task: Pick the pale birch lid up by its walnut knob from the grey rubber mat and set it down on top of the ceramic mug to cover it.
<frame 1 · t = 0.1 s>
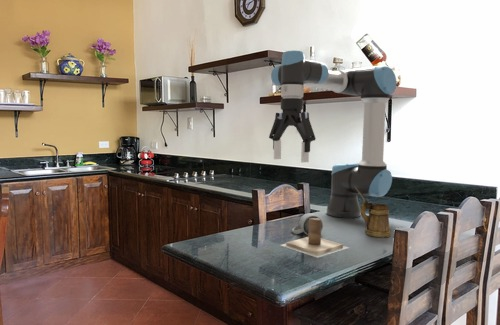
hand: (290, 160, 137), 28 cm above the countertop, tool pointing down, fingers open, 13 cm apart
lid: (314, 246, 131), resting on mat
mat: (314, 247, 132), on the countertop
ceramic mug: (306, 234, 148), on the countertop
wooden mug: (371, 234, 149), on the countertop
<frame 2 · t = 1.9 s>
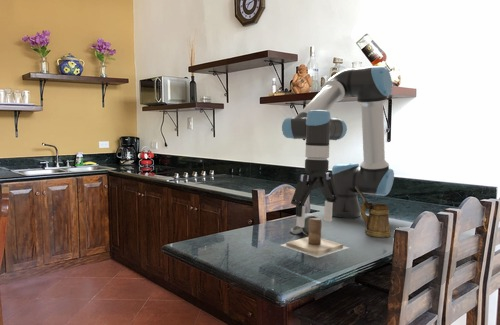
hand: (314, 223, 131), 8 cm above the countertop, tool pointing down, fingers open, 13 cm apart
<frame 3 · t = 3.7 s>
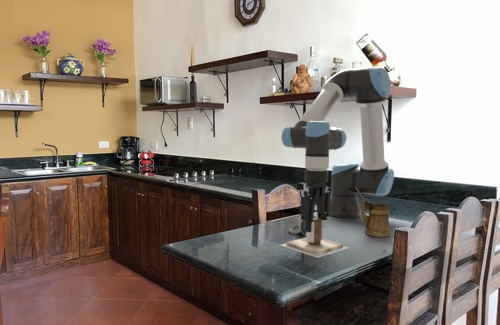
hand: (314, 240, 131), 3 cm above the countertop, tool pointing down, fingers closed on lid, 4 cm apart
lid: (314, 246, 131), point 1 cm above the countertop, touching gripper, mat
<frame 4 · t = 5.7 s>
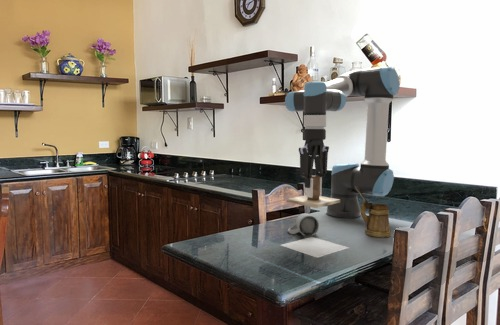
hand: (313, 196, 138), 16 cm above the countertop, tool pointing down, fingers closed on lid, 4 cm apart
lid: (313, 202, 138), point 14 cm above the countertop, touching gripper
when the fingers open (12 cm above the countertop, at t = 7.8 s): lid drops 2 cm, resting on ceramic mug.
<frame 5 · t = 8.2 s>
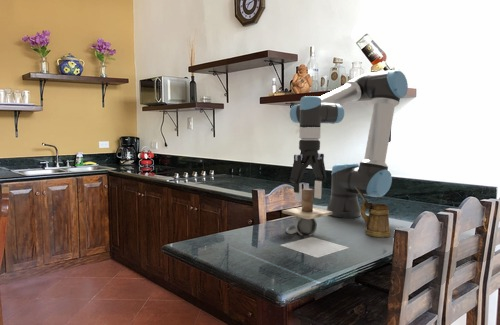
hand: (308, 199, 147), 13 cm above the countertop, tool pointing down, fingers open, 10 cm apart
lid: (307, 213, 148), point 8 cm above the countertop, touching ceramic mug
ceramic mug: (300, 234, 148), on the countertop, touching lid
everything else where it was.
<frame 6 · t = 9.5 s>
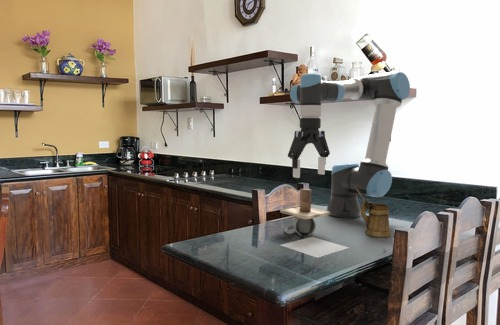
hand: (309, 175, 147), 22 cm above the countertop, tool pointing down, fingers open, 13 cm apart
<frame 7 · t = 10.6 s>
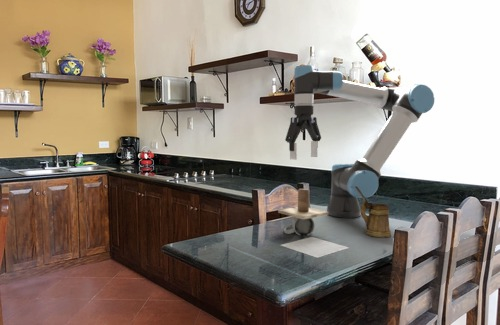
hand: (304, 158, 162), 27 cm above the countertop, tool pointing down, fingers open, 13 cm apart
lid: (303, 213, 148), point 8 cm above the countertop
ceramic mug: (298, 234, 148), on the countertop
everything else where it was.
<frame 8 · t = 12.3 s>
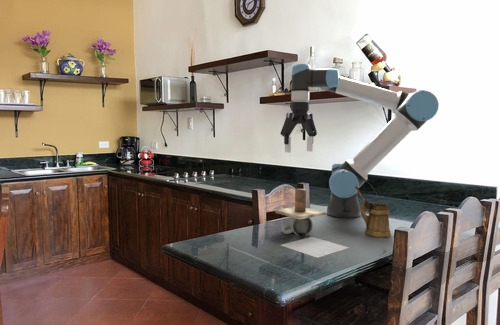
hand: (298, 151, 171), 29 cm above the countertop, tool pointing down, fingers open, 13 cm apart
lid: (300, 213, 147), point 8 cm above the countertop, touching ceramic mug
ceramic mug: (296, 234, 148), on the countertop, touching lid
everything else where it was.
at the end: lid 1.0 cm off-centre on the ceramic mug, point 7.9 cm above the ceramic mug's base; lid touching ceramic mug; ceramic mug tilted 0° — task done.
